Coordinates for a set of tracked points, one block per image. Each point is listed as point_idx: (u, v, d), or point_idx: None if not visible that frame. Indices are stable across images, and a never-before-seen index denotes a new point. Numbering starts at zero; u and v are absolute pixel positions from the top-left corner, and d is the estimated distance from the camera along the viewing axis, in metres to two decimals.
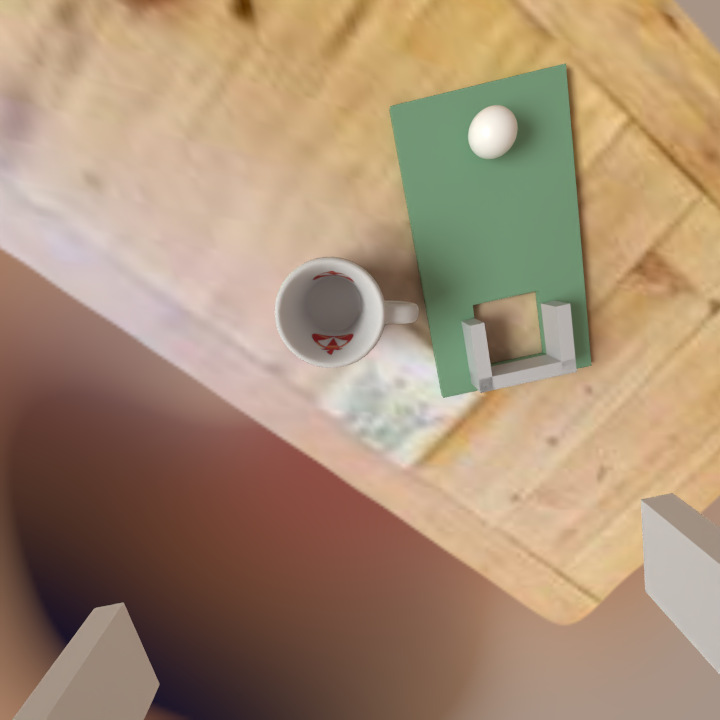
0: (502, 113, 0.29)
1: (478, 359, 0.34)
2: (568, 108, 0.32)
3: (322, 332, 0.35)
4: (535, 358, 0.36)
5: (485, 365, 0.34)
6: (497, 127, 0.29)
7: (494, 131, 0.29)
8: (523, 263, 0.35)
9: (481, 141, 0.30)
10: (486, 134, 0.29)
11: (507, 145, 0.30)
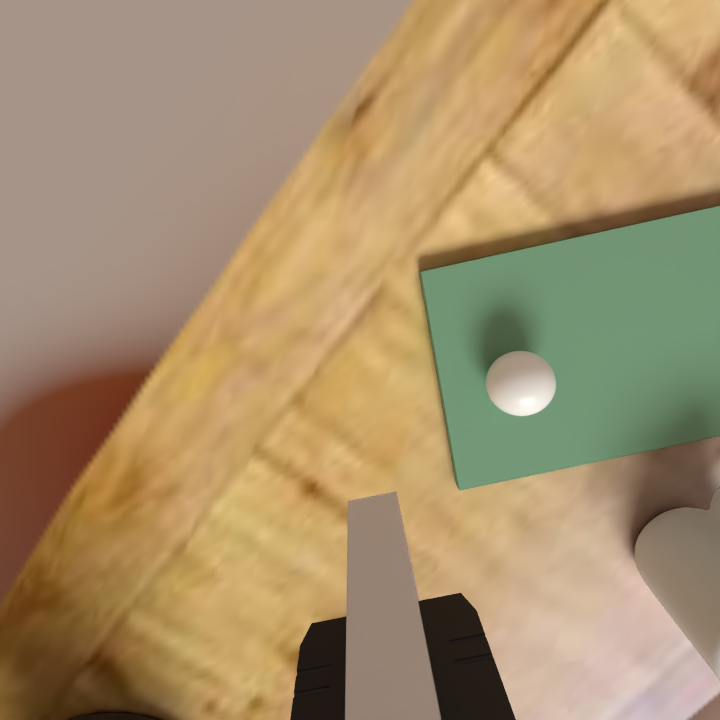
0: (517, 389, 0.21)
1: None
2: (477, 261, 0.22)
3: None
4: None
5: None
6: (536, 397, 0.20)
7: (540, 400, 0.21)
8: (679, 306, 0.23)
9: (542, 409, 0.21)
10: (539, 407, 0.21)
11: (552, 374, 0.21)
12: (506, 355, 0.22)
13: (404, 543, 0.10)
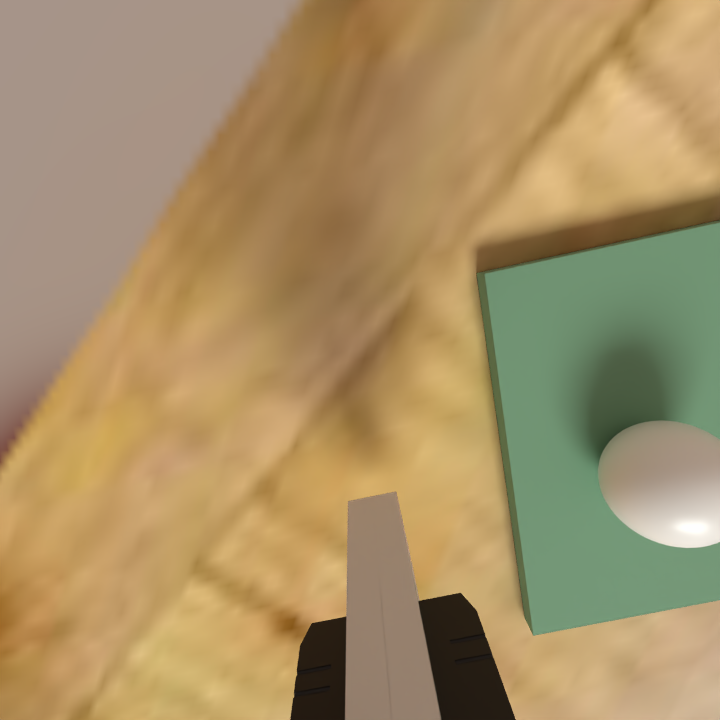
0: (684, 510, 0.10)
1: None
2: (589, 254, 0.12)
3: None
4: None
5: None
6: None
7: None
8: None
9: None
10: None
11: None
12: (647, 431, 0.12)
13: (404, 543, 0.10)
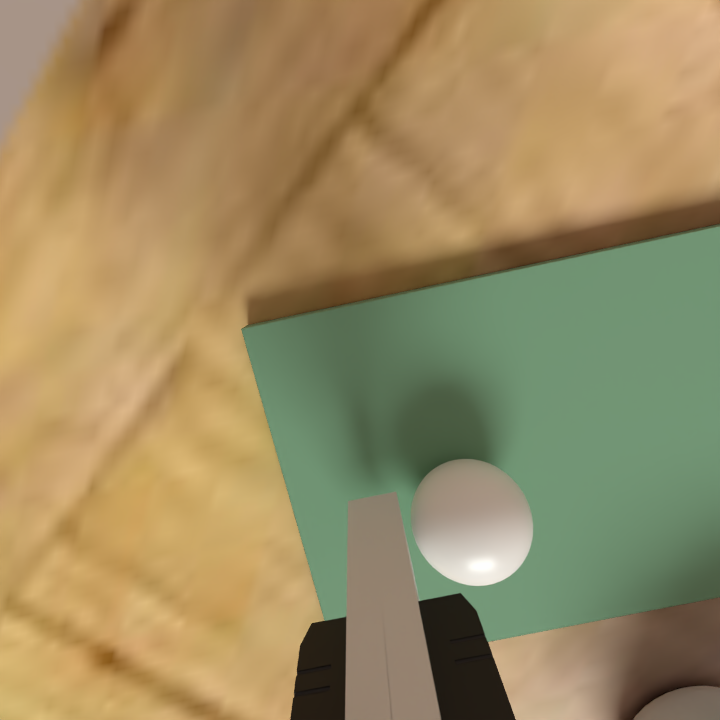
0: (513, 539, 0.11)
1: None
2: (341, 310, 0.12)
3: None
4: None
5: None
6: (531, 537, 0.11)
7: (531, 539, 0.12)
8: (700, 386, 0.13)
9: None
10: None
11: (516, 486, 0.12)
12: (451, 478, 0.12)
13: (404, 543, 0.10)
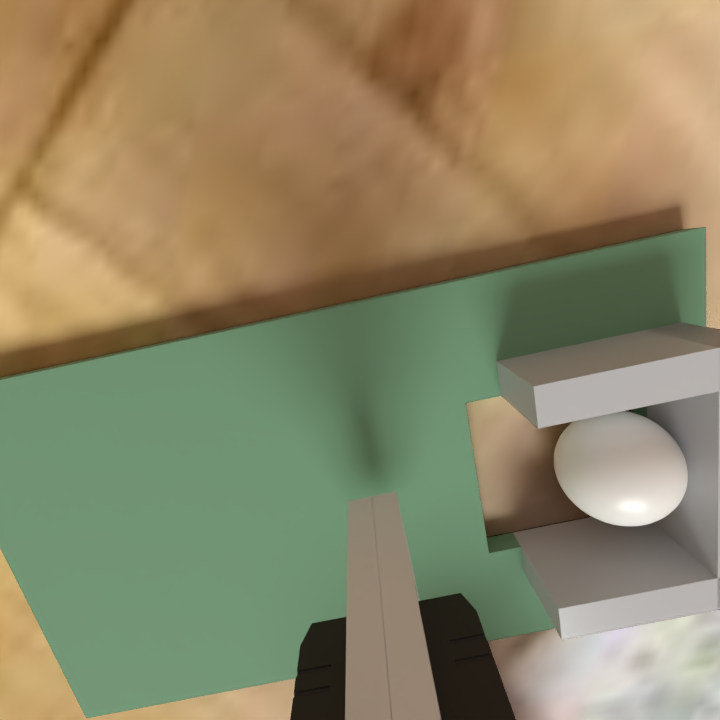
0: None
1: (658, 614, 0.12)
2: (19, 379, 0.13)
3: None
4: (656, 404, 0.13)
5: (680, 597, 0.12)
6: None
7: None
8: (395, 448, 0.14)
9: None
10: None
11: (555, 451, 0.13)
12: (627, 413, 0.12)
13: (404, 543, 0.10)
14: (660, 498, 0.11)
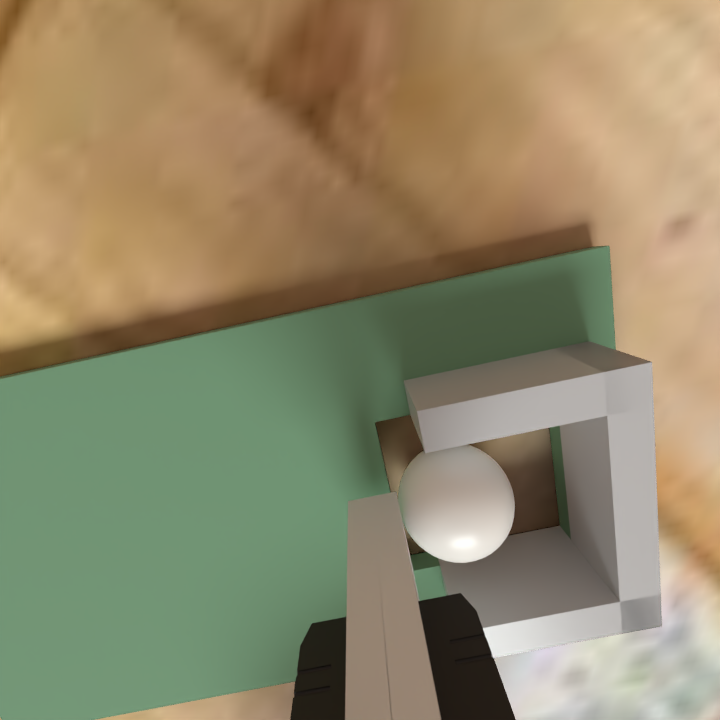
0: None
1: (562, 638, 0.12)
2: None
3: None
4: (565, 424, 0.13)
5: (583, 620, 0.12)
6: None
7: None
8: (305, 467, 0.13)
9: None
10: None
11: None
12: (456, 456, 0.12)
13: (404, 543, 0.10)
14: (408, 526, 0.12)
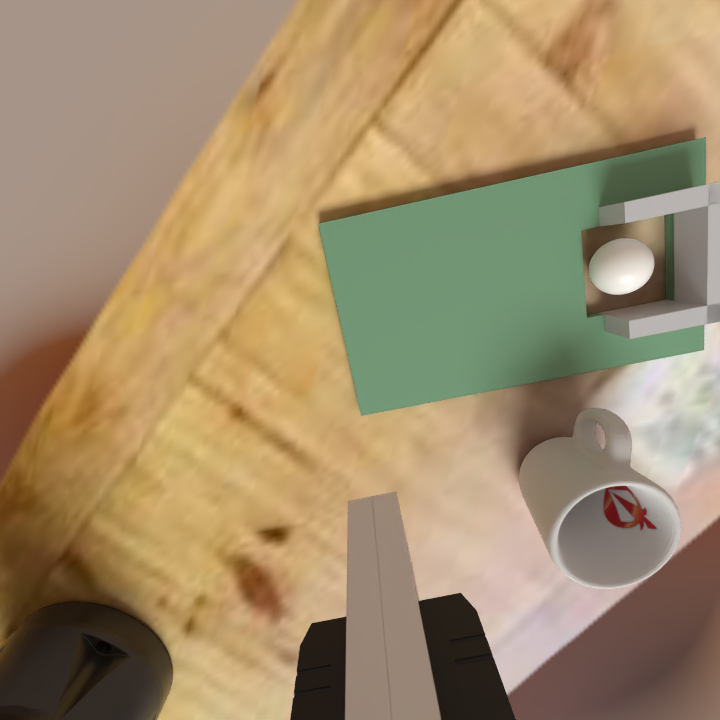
0: None
1: (677, 325, 0.25)
2: (365, 214, 0.26)
3: (597, 496, 0.30)
4: (679, 229, 0.26)
5: (688, 315, 0.25)
6: None
7: None
8: (543, 255, 0.27)
9: None
10: None
11: None
12: (626, 239, 0.25)
13: (404, 543, 0.10)
14: (599, 273, 0.26)
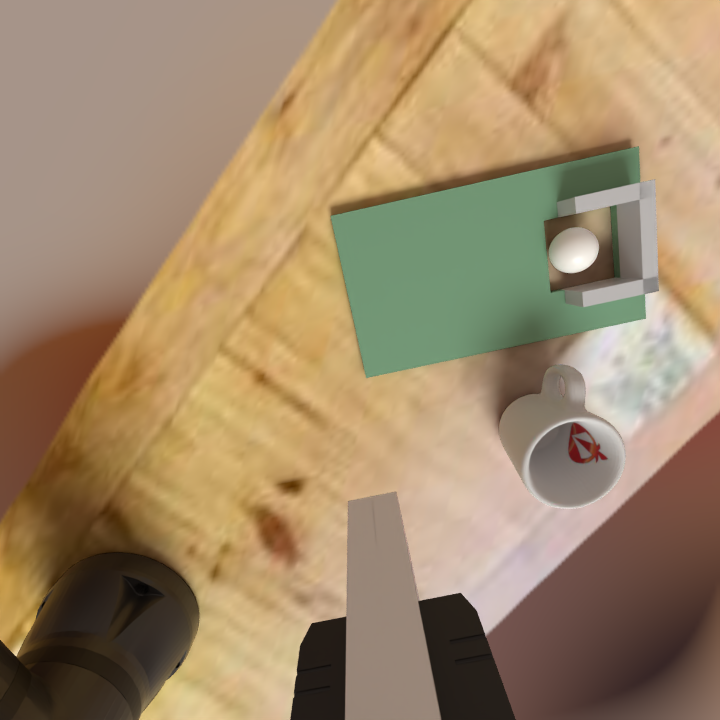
0: None
1: (620, 296, 0.32)
2: (369, 208, 0.32)
3: (563, 442, 0.36)
4: (620, 219, 0.32)
5: (628, 287, 0.32)
6: None
7: None
8: (513, 241, 0.33)
9: None
10: None
11: None
12: (576, 228, 0.32)
13: (404, 543, 0.10)
14: (554, 255, 0.32)
